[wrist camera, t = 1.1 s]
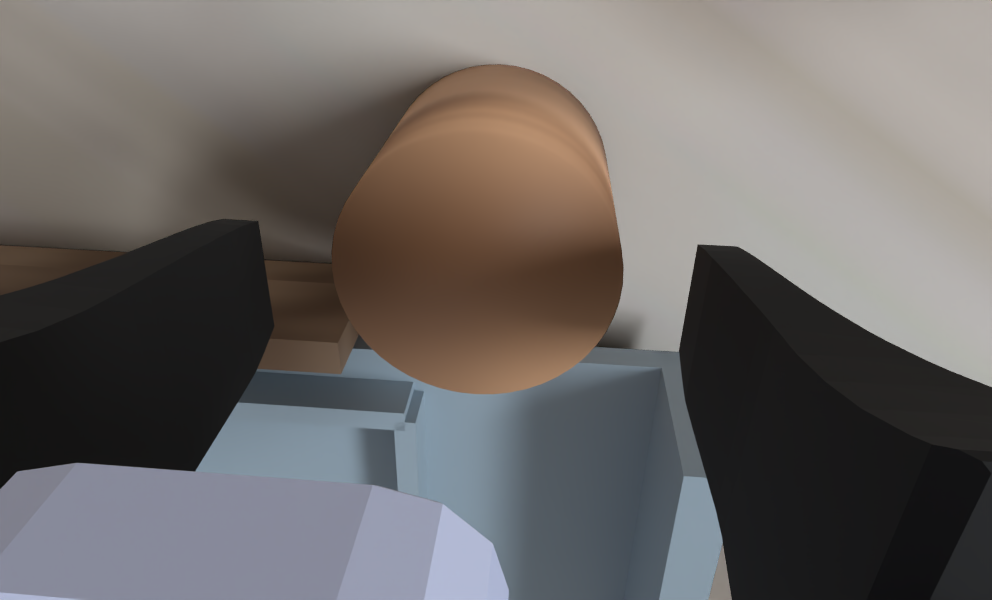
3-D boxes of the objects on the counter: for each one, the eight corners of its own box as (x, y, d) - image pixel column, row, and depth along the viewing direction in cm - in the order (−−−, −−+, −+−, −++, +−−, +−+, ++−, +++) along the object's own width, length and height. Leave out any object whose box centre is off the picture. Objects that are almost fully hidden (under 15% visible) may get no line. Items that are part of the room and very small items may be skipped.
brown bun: (596, 277, 18) (608, 402, 14) (395, 266, 18) (344, 386, 14) (617, 69, 15) (640, 140, 11) (384, 59, 16) (317, 127, 11)
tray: (701, 353, 17) (738, 479, 14) (649, 619, 22) (666, 765, 18) (106, 316, 18) (-9, 427, 14) (182, 581, 23) (111, 713, 19)
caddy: (375, 265, 18) (337, 342, 15) (397, 587, 24) (374, 689, 21) (-227, 232, 19) (-376, 299, 16) (-62, 550, 25) (-147, 641, 22)
